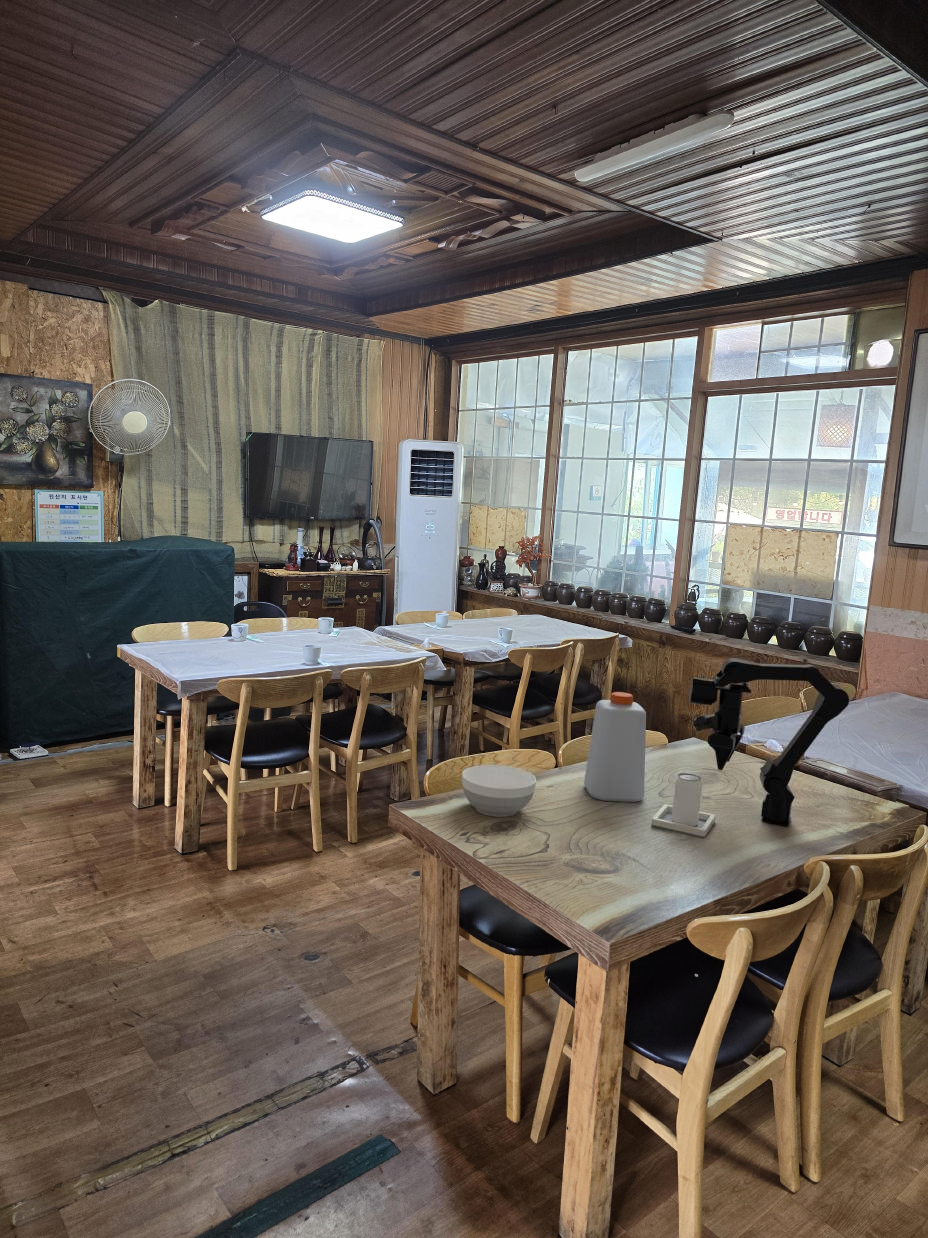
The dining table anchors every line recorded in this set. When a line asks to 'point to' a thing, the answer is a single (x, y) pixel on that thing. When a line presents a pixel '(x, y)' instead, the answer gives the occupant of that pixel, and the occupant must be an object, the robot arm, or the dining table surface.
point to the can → (687, 799)
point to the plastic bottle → (617, 750)
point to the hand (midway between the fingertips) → (723, 765)
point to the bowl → (498, 789)
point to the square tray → (700, 830)
